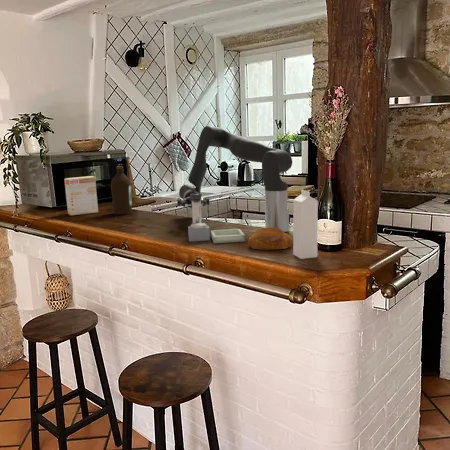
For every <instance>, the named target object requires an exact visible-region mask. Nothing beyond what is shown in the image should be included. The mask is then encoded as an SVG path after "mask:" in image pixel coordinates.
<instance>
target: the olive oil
mask: <svg viewBox="0 0 450 450" xmlns="http://www.w3.org/2000/svg"><path fill="white" fill-rule="evenodd" d="M110 190H111V197H112V198H111V199H112V204H113V214H114V215H118V216H119V215H130V214H133V206H132V205H133V201H132V199H133V198H132V197H133V196H132V195H133V193H132V182H131V179H130V178H129V177H128V176H127V175H126V174H125V173H124V166H123V165H117V166H116V174H115V175H114V177H113V178H112V179H111V181H110Z"/></svg>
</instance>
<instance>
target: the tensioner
mask: <svg viewBox="0 0 450 450" xmlns="http://www.w3.org/2000/svg"><path fill="white" fill-rule="evenodd" d="M187 228H188V230H187V231H188V232H187V233H188V234H187V235H188V241H189V242H202V241H211V231H210V226H209V225H208V224H207V223H205V222H203V223H194V224H193V223H191V224H190V225H189V226H187Z"/></svg>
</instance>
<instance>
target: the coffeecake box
mask: <svg viewBox="0 0 450 450" xmlns="http://www.w3.org/2000/svg"><path fill="white" fill-rule="evenodd" d="M64 188H65V190H64V191H65V199H66V208H67V214H68V215H69V216H79V215H87V214H95V213H99V205H98V195H97V184H96V176H93V175H87V176H77V177H66V178H64Z"/></svg>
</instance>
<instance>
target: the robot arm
mask: <svg viewBox="0 0 450 450" xmlns="http://www.w3.org/2000/svg"><path fill="white" fill-rule="evenodd" d="M210 147H212V148H213V147H214V148H222V149H225V150H229V152H230V153H231V154H232V155H233V156H234V157H236V158H239V159H241V160H245V161H247V162H253V163H261V170H262V172H261V173H262V182H263V185H264V208H265V209H264V210H265V212H264V214H265V216H264V219H265V220H264V221H265V226H264V228H278V229H281V230H282V231H283V232H284V233H286V232H290V209H289V207H288V183H287V182H286V181H284V180H282V179H281V174H282V173H285V172H287V171H289V170H290V169H291V168H292V166H293V158H292V156H291V155H290V153H289V152H288V151H286V150H284V149H278V148H275V147H270V146H268V145H265V144H263V143H260V142H258V141H255V140H254V139H251V138H248V137H245V136H241V135H237V134H233V133H231V132H229V131H227V130H226V129H224V128H222V127H220V126H219V127H218V126H215V125H213V126H212V125H206V126H203V128H202V130H201V132H200V134H199V140H198V144H197V148H196V152H195V158H194V161H193V163H192V164H193V165H192V167H191V170H190V173H189V175H188V179H187V181H188V183H190V184H191V185H193V186H191V185H188V184H183V185H182V186H180V188H179V191H178V194H179V195H178V196H179V197H178V198H177V200H176V203H177V207H180V206H182V207H183V208H186V207H188V208H191V209H192V200H191V199H190V194H195V193H199V194H201V192H202V191H201V189H202V184H203V181H204V179H205V175H206V173H207V168H208V167H207V164H208V163H207V157H206V156H207V152H208V149H209V148H210ZM210 201H211V200H210V198H209V197H207V196H206V197H205V196H204V198H203V197H202V199H201V206H202V207H206V205H207V206H209V205H211V203H210Z"/></svg>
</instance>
